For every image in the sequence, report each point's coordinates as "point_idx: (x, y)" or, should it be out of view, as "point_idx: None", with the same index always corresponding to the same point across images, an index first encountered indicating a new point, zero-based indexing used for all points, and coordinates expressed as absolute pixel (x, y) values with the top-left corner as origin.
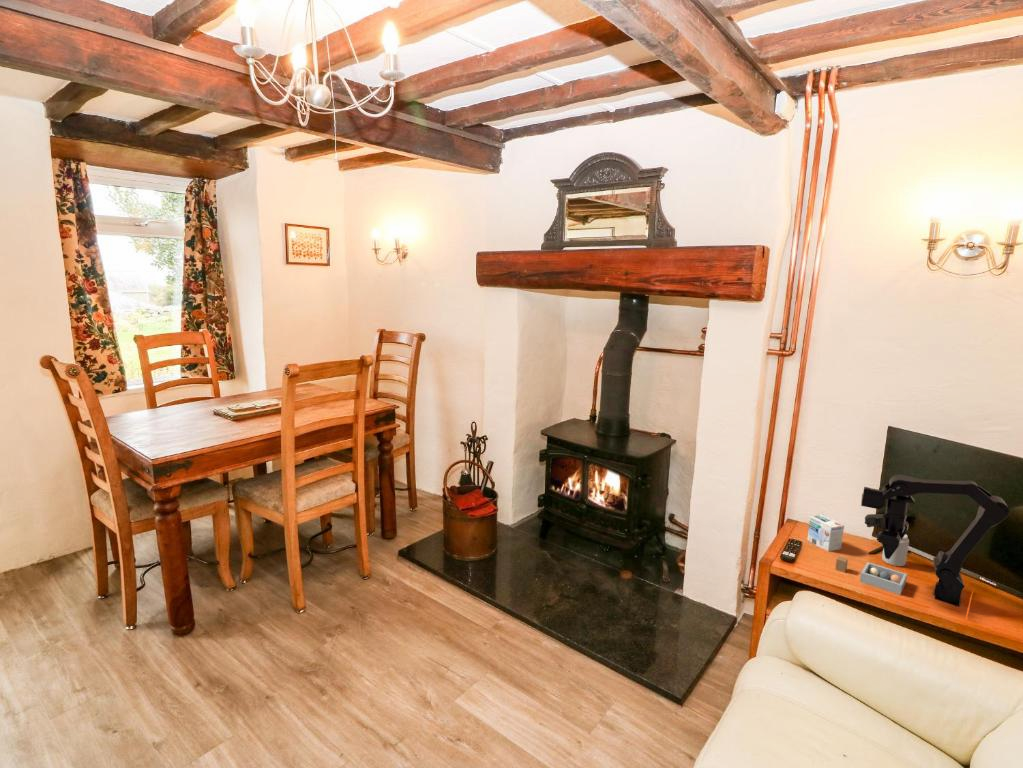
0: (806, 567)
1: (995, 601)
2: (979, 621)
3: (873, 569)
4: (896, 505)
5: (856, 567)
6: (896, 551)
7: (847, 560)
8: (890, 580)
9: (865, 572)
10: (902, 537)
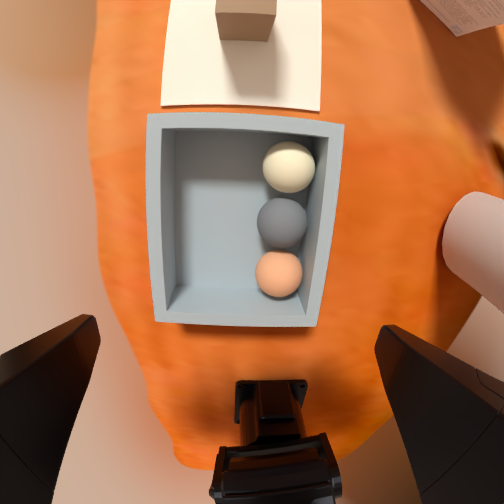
0: None
1: (335, 448)
2: (195, 442)
3: (279, 165)
4: None
5: (342, 83)
6: (486, 270)
7: (266, 17)
8: None
9: (218, 129)
10: (420, 496)
